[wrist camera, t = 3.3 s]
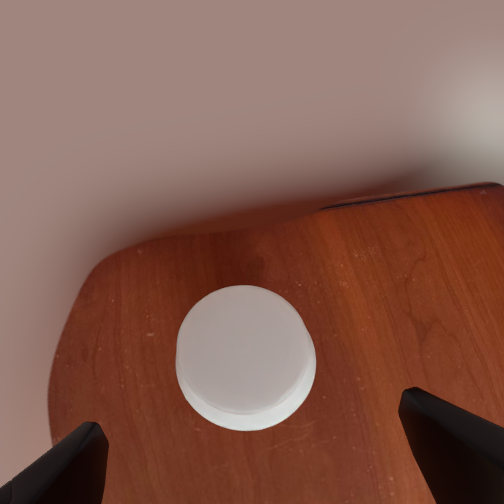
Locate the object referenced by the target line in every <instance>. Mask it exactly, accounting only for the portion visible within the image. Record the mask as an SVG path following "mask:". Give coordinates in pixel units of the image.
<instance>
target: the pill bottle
mask: <svg viewBox="0 0 504 504" xmlns="http://www.w3.org/2000/svg"><path fill="white" fill-rule="evenodd" d="M315 371H316V355H315V349H314V345H313V342H312V339H311V337H310V335H309V333H308V331H307V329H306V327H305V325H304V322H303V320H302V318H301V317H300V315H299V314H298V312H297V311H296V310H295V309H294V307H293V306H292V305H291V304H290V303H289V302H287V301H286V300H285V299H284V298H282V297H281V296H279V295H277V294H276V293H274V292H272V291H270V290H267V289H264V288H261V287H256V286H246V285H239V286H230V287H226V288H222V289H220V290H217V291H214V292H212V293H211V294H209V295H207V296H205V297H204V298H203V299H201V300H200V301H199V302H198V303H197V304H195V305H194V307H193V308H192V309H191V310H190V311H189V313H188V314H187V315H186V317H185V319H184V321H183V323H182V325H181V327H180V330H179V333H178V338H177V353H176V373H177V379H178V382H179V385H180V388H181V390H182V392H183V394H184V396H185V398H186V399H187V401H188V402H189V403H190V405H191V406H192V407H193V408H194V409H195V410H196V411H197V412H198V413H199V414H200V415H202V416H203V417H204V418H206V419H207V420H209V421H211V422H212V423H214V424H216V425H219V426H222V427H225V428H228V429H233V430H239V431H253V430H262V429H265V428H268V427H271V426H273V425H276V424H278V423H280V422H281V421H283V420H285V419H286V418H288V417H289V416H290V415H292V414H293V413H294V412H295V411H296V410H297V409H298V407H299V406H300V405H301V404H302V403H303V401H304V400H305V398H306V397H307V395H308V394H309V392H310V389H311V387H312V384H313V381H314V377H315Z"/></svg>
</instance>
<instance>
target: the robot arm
mask: <svg viewBox="0 0 504 504" xmlns="http://www.w3.org/2000/svg"><path fill="white" fill-rule="evenodd" d="M398 413H399V417H400V420H401V423H402V425H403V428H404V431H405V434H406V436H407V439H408V442H409V445H410V448H411V451H412V453H413V456H414V458H415V460H416V462H417V464H418V466H419V468H420V470H421V472H422V474H423V476H424V478H425V480H426V482H427V484H428V487H429V489H430V491H431V493H432V495H433V497H434V499H435V501H436V504H504V428H503V427H501V426H499V425H496V424H494V423H492V422H490V421H488V420H485V419H483V418H481V417H479V416H477V415H475V414H472V413H470V412H468V411H466V410H464V409H462V408H460V407H457V406H455V405H453V404H451V403H449V402H447V401H445V400H443V399H441V398H439V397H437V396H435V395H433V394H430V393H428V392H426V391H424V390H422V389H420V388H418V387H412V388H409V389H405V390H404V391H403V393H402V397H401V401H400V405H399V409H398ZM108 449H109V443H108V440H107V438H106V436H105V434H104V432H103V430H102V429H101V427H100V425H99V424H98V423H96V422H84V423H83V424H81V425H80V426H79V427H78V428H76V429H75V430H74V431H73V432H71V433H70V434H69V435H68V436H66V437H65V438H64V439H63V440H61V441H60V442H59V443H58V444H56V445H55V446H54V447H53V448H51V449H50V450H49V451H47V453H45V454H44V455H42V456H41V457H40V458H39V459H37V460H36V461H35V462H33V463H32V464H31V465H30V466H28V467H27V468H26V469H24V470H23V471H22V472H20V473H19V474H18V475H17V476H15V477H14V478H13V479H12V480H11V481H9V482H7V483H6V484H5V485H3V486H2V487H1V488H0V504H101V503H102V498H103V493H104V488H105V479H106V468H107V458H108Z"/></svg>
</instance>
